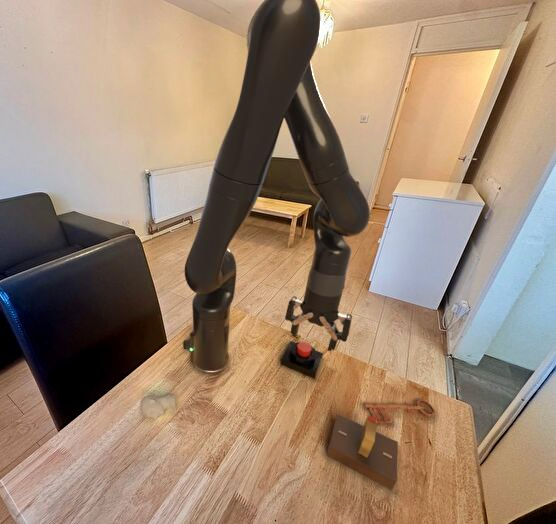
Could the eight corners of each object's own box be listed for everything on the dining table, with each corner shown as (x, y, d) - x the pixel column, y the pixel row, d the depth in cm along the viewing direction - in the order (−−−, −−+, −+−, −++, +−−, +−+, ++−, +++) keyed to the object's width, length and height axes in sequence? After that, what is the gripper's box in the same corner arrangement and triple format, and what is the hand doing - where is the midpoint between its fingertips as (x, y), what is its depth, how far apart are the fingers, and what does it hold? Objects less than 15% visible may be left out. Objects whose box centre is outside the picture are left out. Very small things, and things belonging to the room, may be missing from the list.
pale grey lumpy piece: (140, 423, 63) (142, 399, 66) (176, 420, 63) (177, 396, 67) (137, 416, 60) (139, 391, 63) (175, 414, 60) (175, 389, 64)
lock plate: (326, 455, 56) (330, 445, 54) (334, 422, 62) (337, 413, 60) (391, 490, 50) (397, 480, 49) (393, 450, 56) (398, 441, 55)
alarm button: (294, 353, 75) (295, 348, 74) (298, 345, 78) (299, 340, 77) (308, 358, 73) (309, 353, 72) (312, 350, 76) (313, 345, 75)
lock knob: (367, 457, 52) (375, 440, 50) (357, 452, 53) (365, 435, 51) (370, 435, 56) (377, 418, 54) (361, 430, 57) (368, 413, 55)
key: (371, 423, 62) (443, 426, 61) (372, 420, 61) (445, 424, 61) (360, 398, 67) (426, 401, 66) (361, 396, 66) (428, 398, 65)
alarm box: (280, 364, 76) (282, 353, 74) (289, 346, 82) (291, 335, 80) (314, 379, 72) (317, 367, 70) (321, 359, 78) (324, 348, 76)
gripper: (287, 283, 64) (278, 339, 71) (356, 304, 56) (339, 364, 64) (298, 270, 69) (289, 323, 76) (362, 288, 62) (345, 344, 69)
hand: (311, 341), depth 70 cm, fingers open, 8 cm apart
